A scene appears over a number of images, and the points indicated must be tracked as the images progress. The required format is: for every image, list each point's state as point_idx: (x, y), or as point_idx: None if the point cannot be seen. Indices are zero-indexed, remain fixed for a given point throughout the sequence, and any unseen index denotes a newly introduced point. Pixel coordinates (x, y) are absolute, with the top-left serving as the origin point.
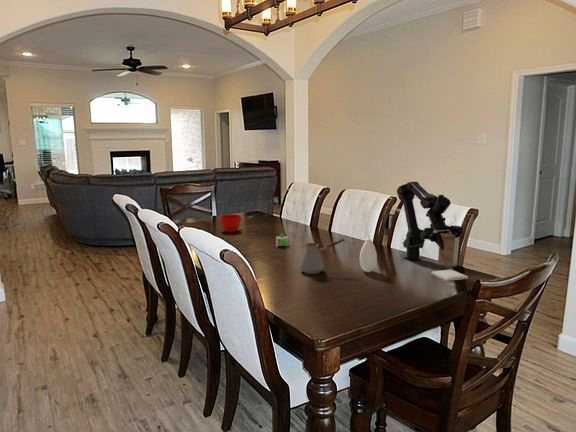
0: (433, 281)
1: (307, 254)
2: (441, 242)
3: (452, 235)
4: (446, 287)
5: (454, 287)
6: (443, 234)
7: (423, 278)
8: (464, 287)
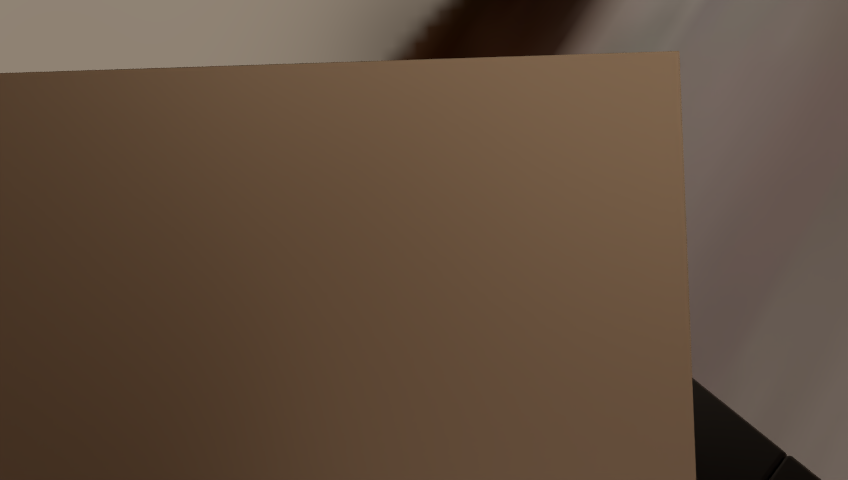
0: (741, 296)
1: None
2: (696, 416)
3: (82, 74)
4: (687, 51)
5: (586, 37)
6: None
7: (831, 459)
8: (467, 20)
